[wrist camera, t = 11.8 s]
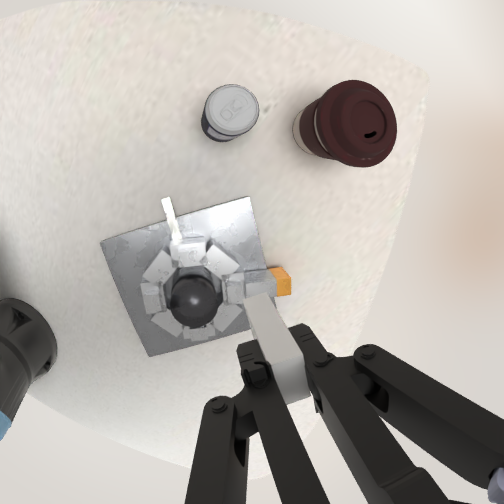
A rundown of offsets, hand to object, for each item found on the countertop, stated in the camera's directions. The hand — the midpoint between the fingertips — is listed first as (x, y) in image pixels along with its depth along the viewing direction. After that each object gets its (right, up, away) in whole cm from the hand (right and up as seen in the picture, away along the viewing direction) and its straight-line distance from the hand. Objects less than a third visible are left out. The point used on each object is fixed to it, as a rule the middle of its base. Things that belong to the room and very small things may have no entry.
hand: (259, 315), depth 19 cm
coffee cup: (+9, +22, +24) cm, 33 cm away
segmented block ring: (-6, -1, +26) cm, 27 cm away
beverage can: (-5, +22, +21) cm, 30 cm away
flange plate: (-9, +1, +26) cm, 27 cm away
